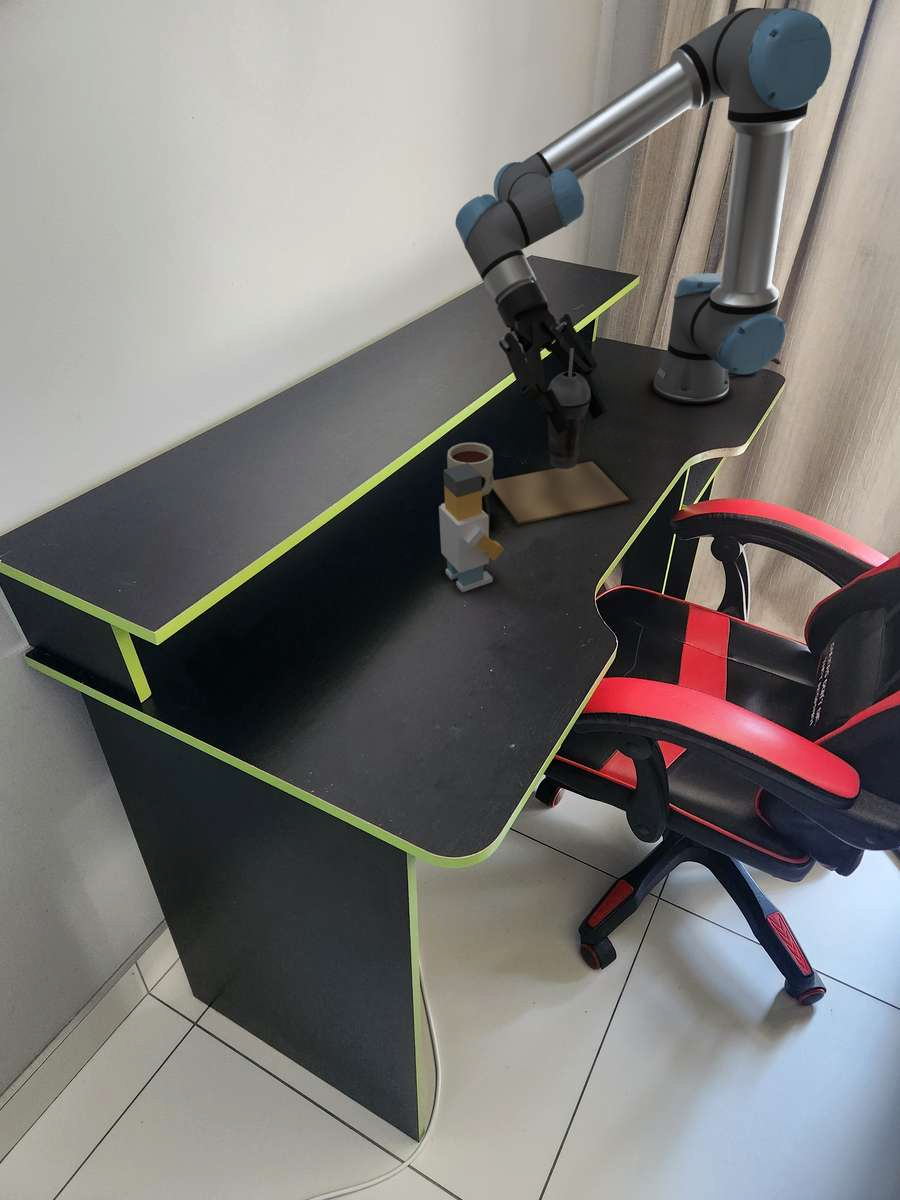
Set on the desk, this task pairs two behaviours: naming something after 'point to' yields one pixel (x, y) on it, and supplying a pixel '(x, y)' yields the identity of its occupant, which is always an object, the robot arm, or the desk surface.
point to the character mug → (475, 465)
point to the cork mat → (557, 492)
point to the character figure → (466, 528)
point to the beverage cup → (569, 417)
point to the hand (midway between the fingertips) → (582, 422)
